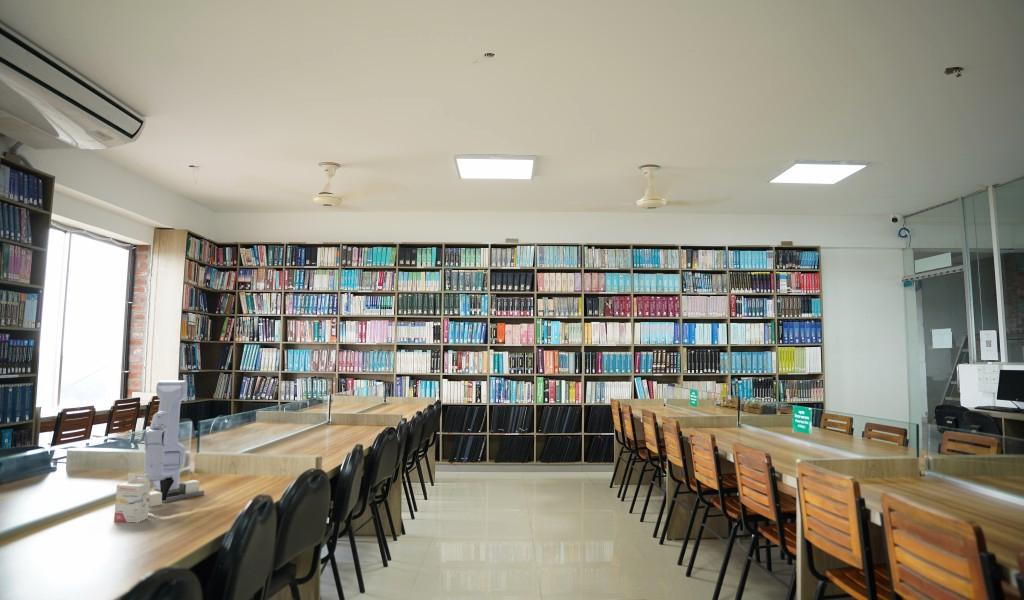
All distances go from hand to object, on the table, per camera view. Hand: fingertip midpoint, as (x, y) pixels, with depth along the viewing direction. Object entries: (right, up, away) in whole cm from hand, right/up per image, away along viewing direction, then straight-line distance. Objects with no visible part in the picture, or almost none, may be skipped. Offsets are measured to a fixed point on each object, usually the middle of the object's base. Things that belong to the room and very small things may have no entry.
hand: (151, 502), depth 205 cm
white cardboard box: (0, -2, 0) cm, 2 cm away
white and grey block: (+6, -2, +13) cm, 15 cm away
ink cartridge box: (+3, 0, -16) cm, 16 cm away
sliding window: (+4, -3, +10) cm, 11 cm away
